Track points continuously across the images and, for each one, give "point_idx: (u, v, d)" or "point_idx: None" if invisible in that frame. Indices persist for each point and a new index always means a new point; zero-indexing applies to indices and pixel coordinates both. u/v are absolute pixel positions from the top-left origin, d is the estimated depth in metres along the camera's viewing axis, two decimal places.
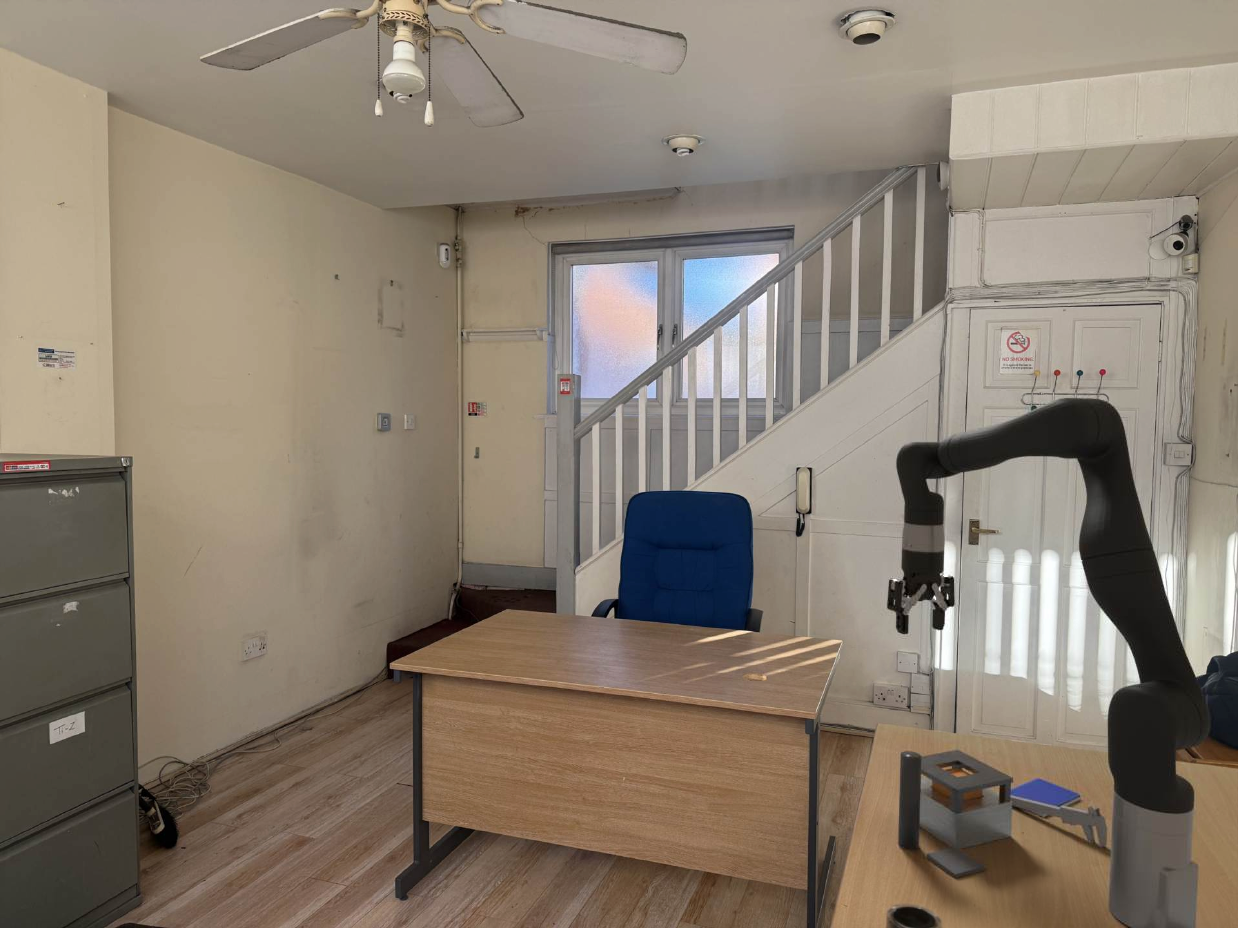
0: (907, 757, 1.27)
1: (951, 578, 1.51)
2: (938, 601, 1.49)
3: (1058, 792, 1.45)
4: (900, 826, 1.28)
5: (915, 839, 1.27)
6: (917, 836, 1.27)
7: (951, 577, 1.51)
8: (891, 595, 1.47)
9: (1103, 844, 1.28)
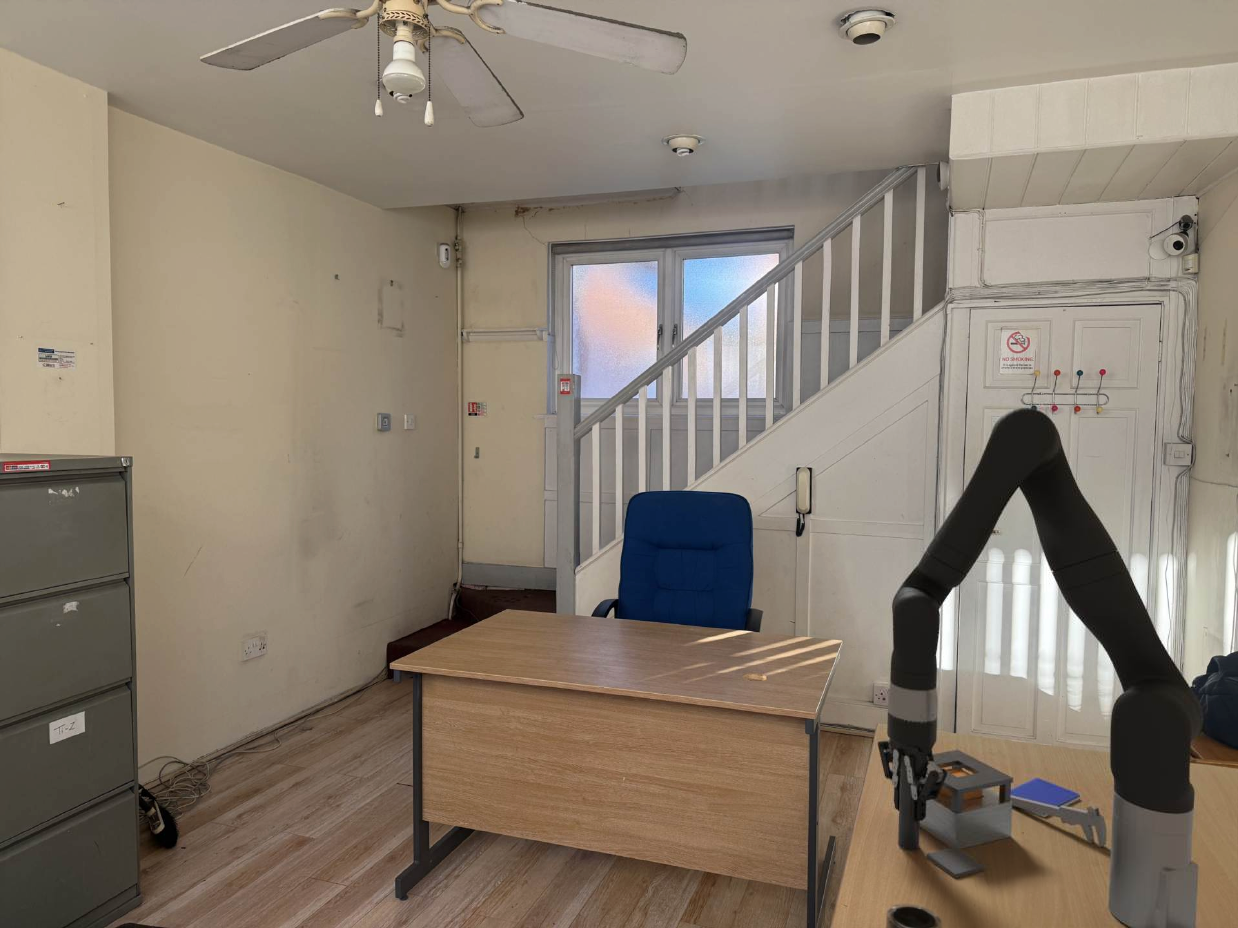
0: None
1: None
2: None
3: (1057, 792, 1.45)
4: (900, 826, 1.28)
5: (915, 839, 1.27)
6: (917, 836, 1.27)
7: None
8: (934, 788, 1.23)
9: (1103, 844, 1.28)
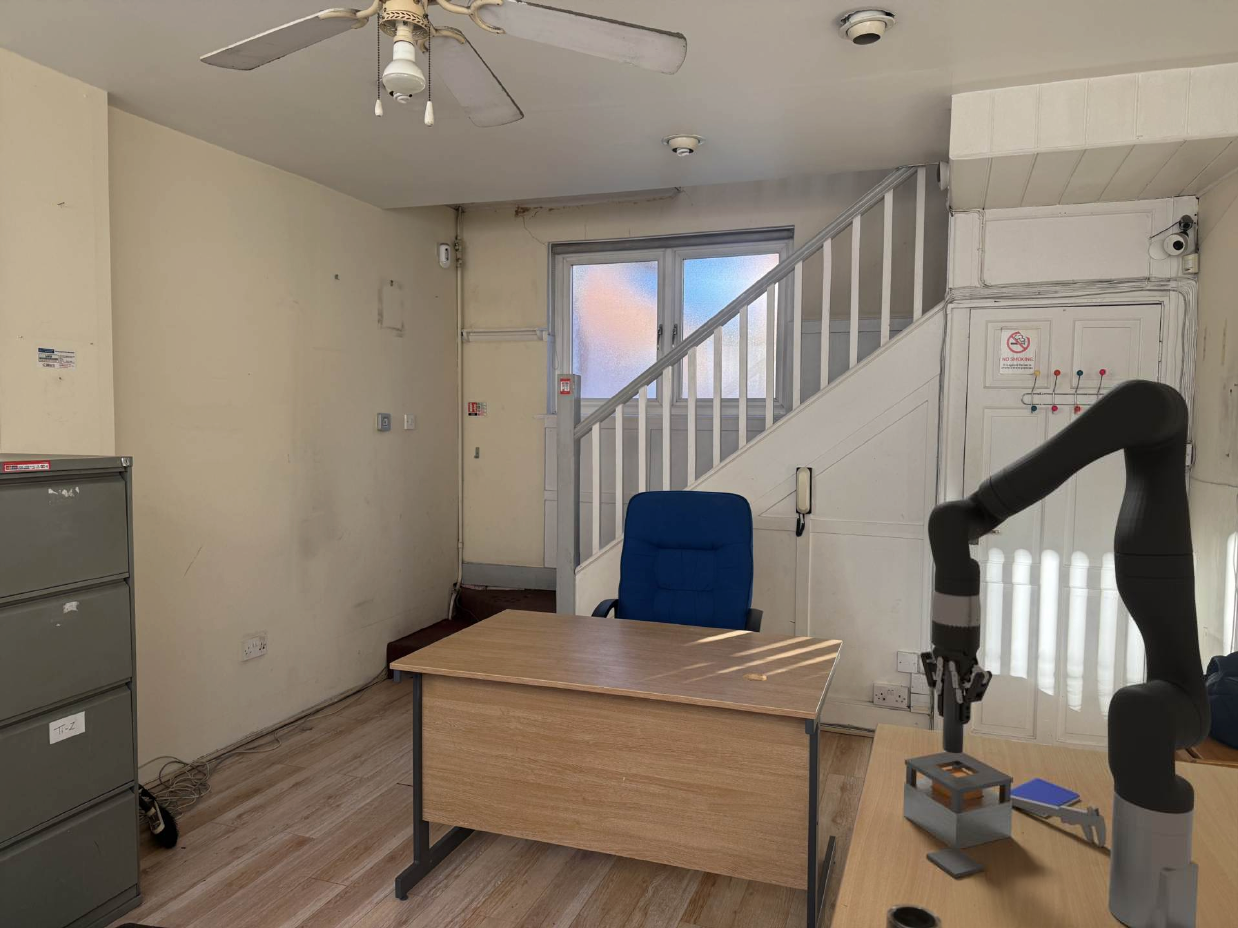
0: None
1: None
2: None
3: (1057, 792, 1.45)
4: (945, 731, 1.32)
5: (959, 742, 1.31)
6: (961, 740, 1.32)
7: None
8: (980, 689, 1.27)
9: (1102, 844, 1.28)
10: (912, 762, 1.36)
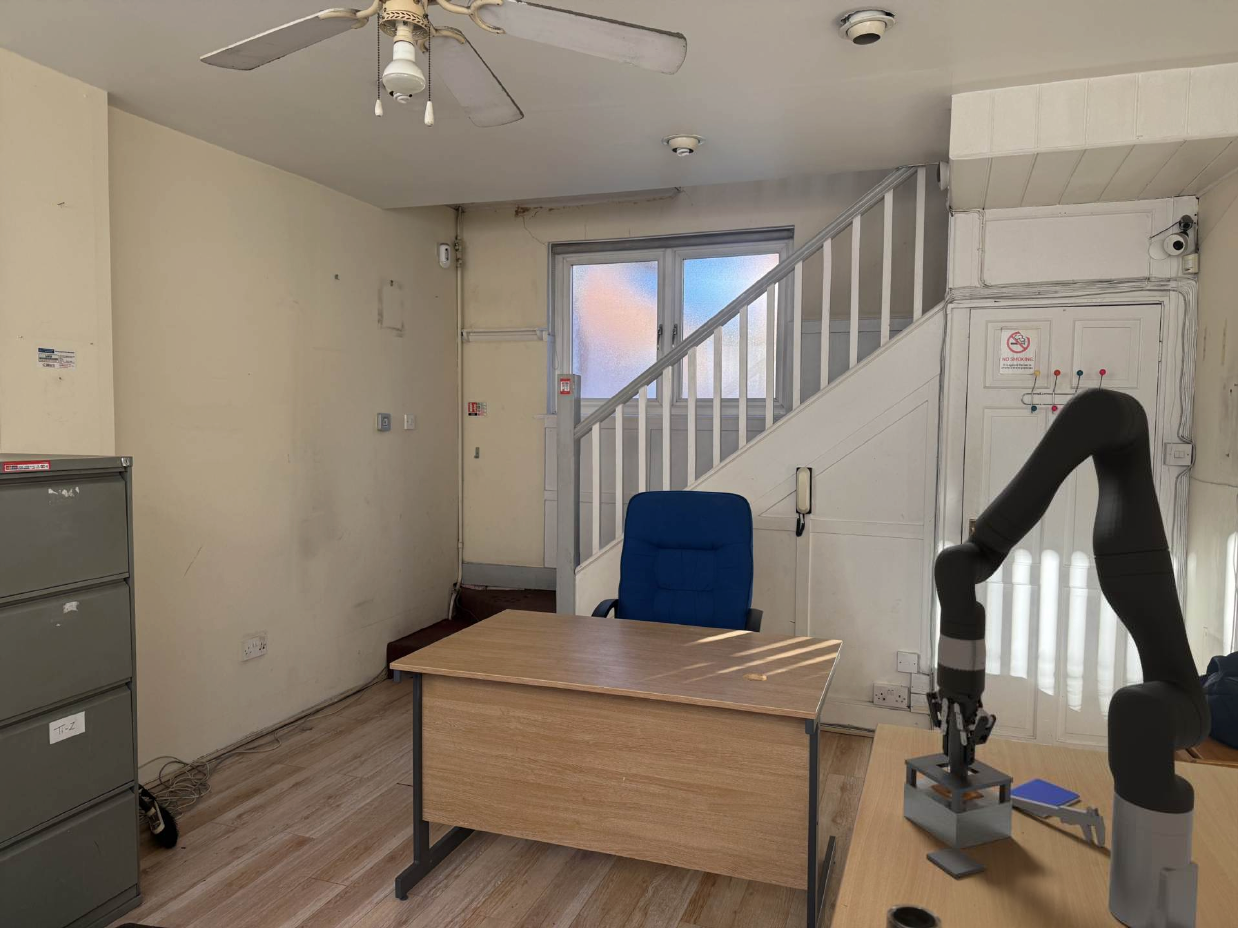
0: None
1: None
2: None
3: (1057, 792, 1.45)
4: (949, 771, 1.34)
5: None
6: None
7: None
8: (984, 733, 1.29)
9: (1102, 844, 1.28)
10: (912, 762, 1.36)
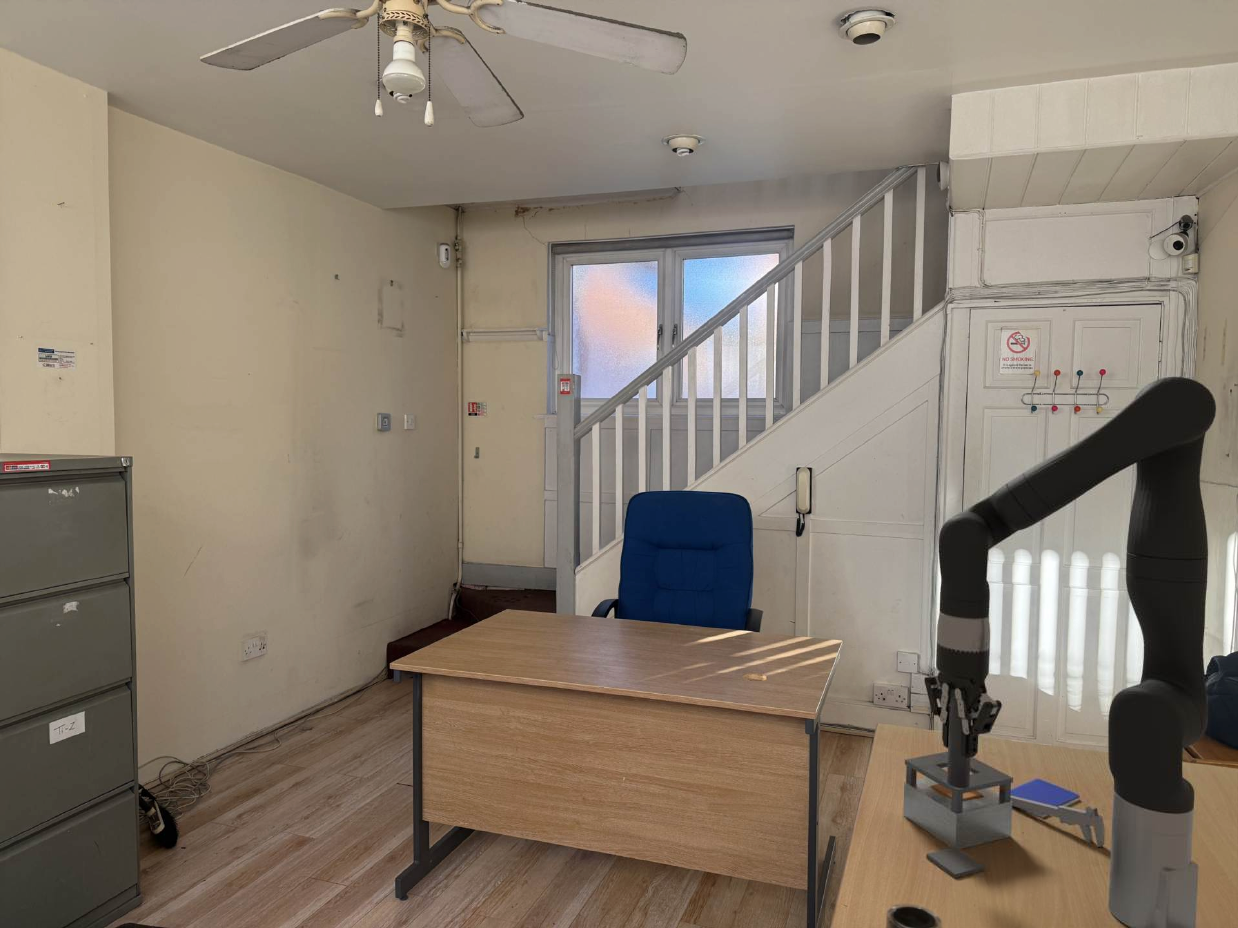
0: None
1: None
2: None
3: (1057, 792, 1.45)
4: (950, 763, 1.22)
5: (966, 776, 1.21)
6: (968, 774, 1.21)
7: None
8: (988, 720, 1.16)
9: (1101, 844, 1.28)
10: (912, 762, 1.36)
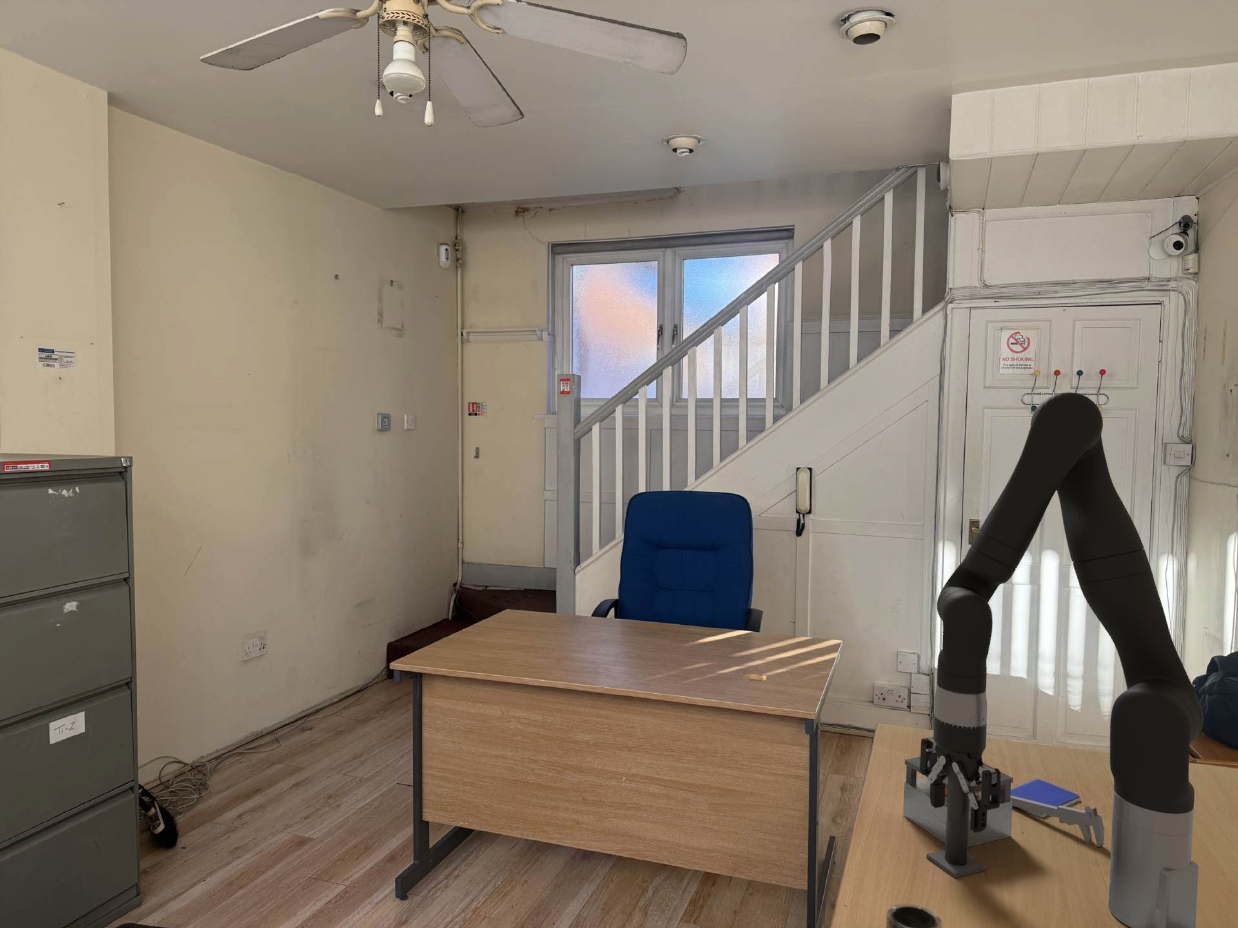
0: None
1: None
2: None
3: (1057, 793, 1.45)
4: (948, 840, 1.22)
5: (963, 854, 1.21)
6: (965, 851, 1.22)
7: None
8: (992, 791, 1.16)
9: (1100, 844, 1.28)
10: (912, 762, 1.36)
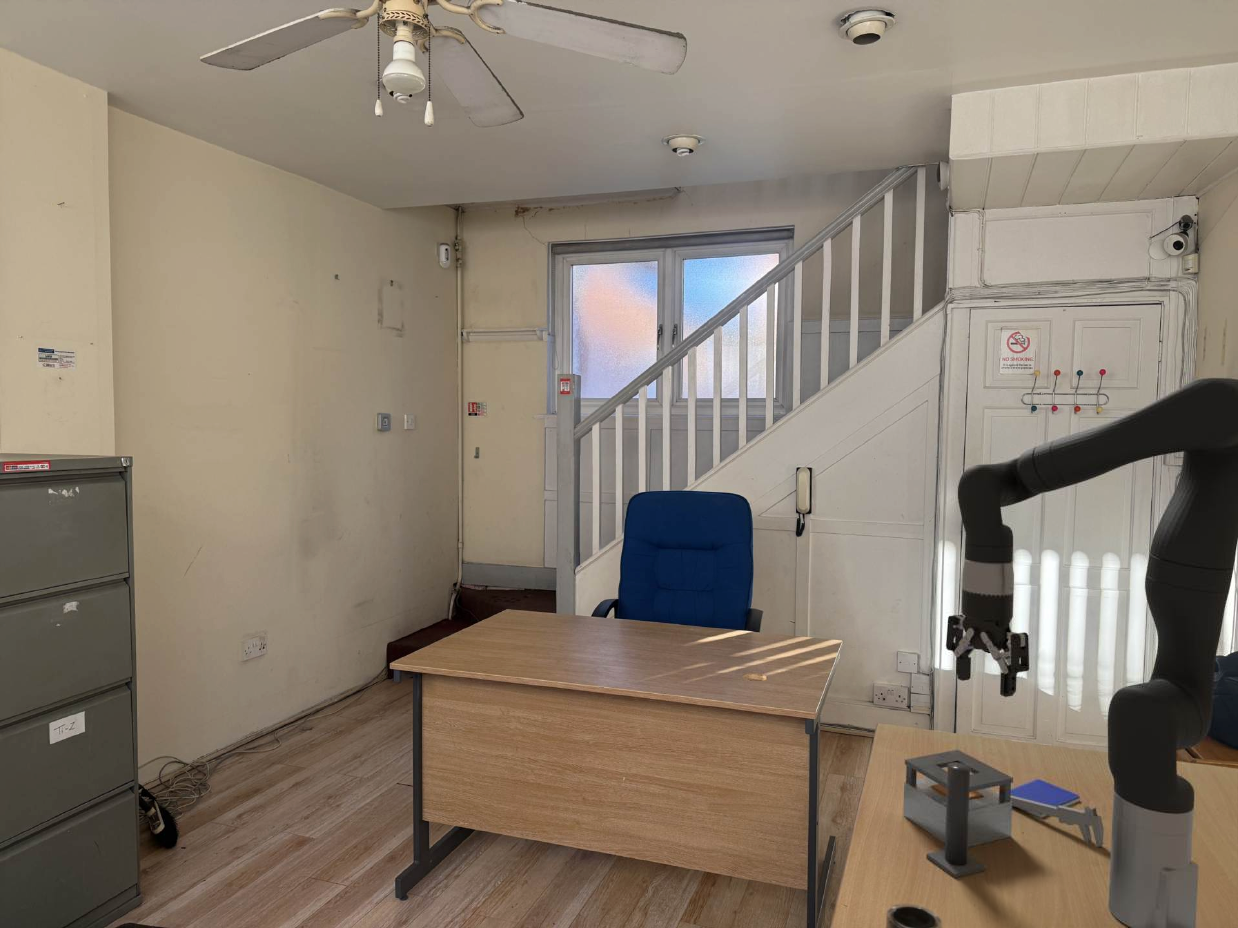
0: (955, 770, 1.21)
1: None
2: None
3: (1057, 793, 1.45)
4: (947, 841, 1.22)
5: (963, 854, 1.21)
6: (965, 851, 1.22)
7: None
8: (1022, 654, 1.20)
9: (1100, 844, 1.28)
10: (912, 762, 1.36)
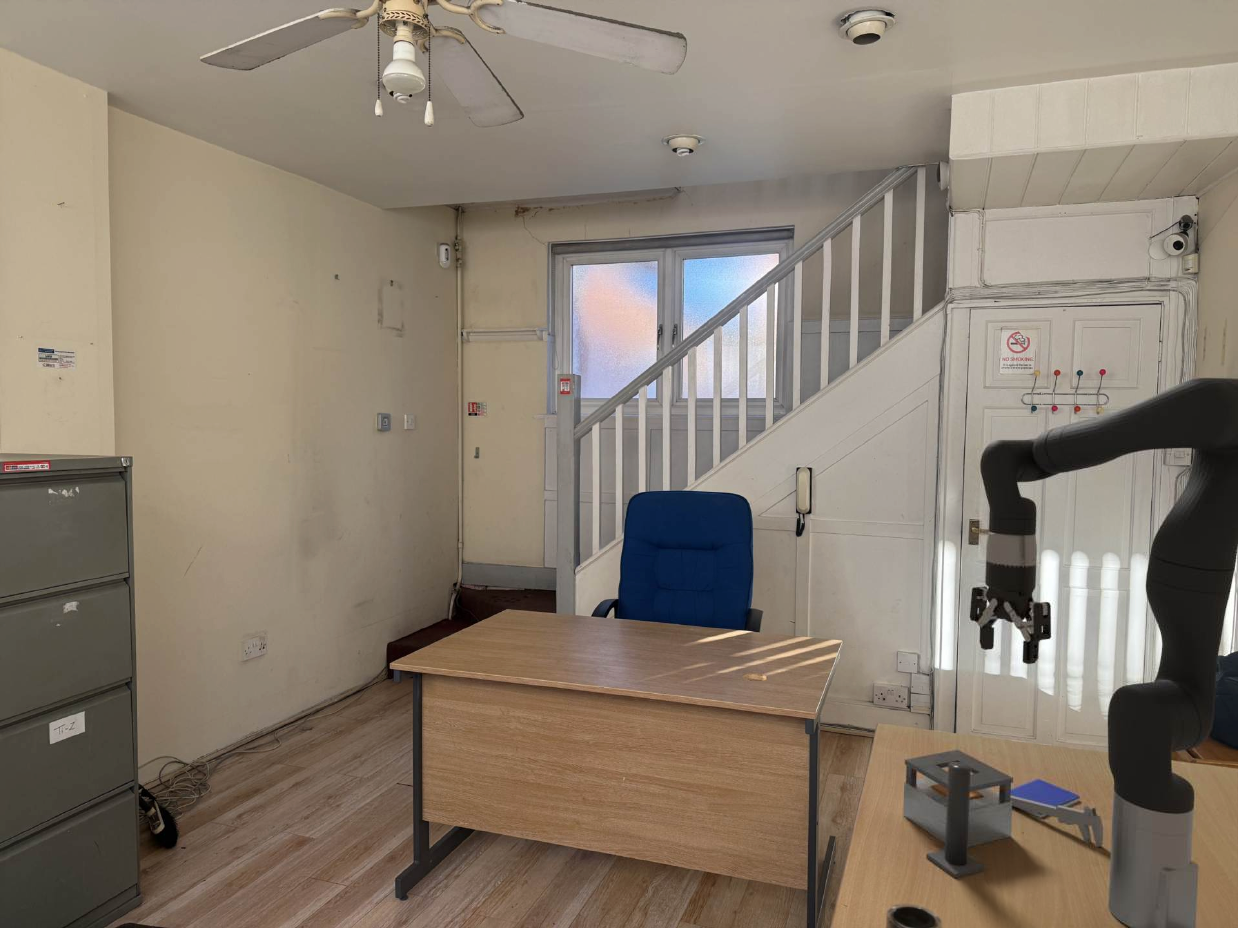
0: (956, 768, 1.21)
1: None
2: None
3: (1057, 793, 1.45)
4: (947, 840, 1.22)
5: (963, 854, 1.21)
6: (965, 851, 1.22)
7: None
8: (1044, 622, 1.25)
9: (1099, 844, 1.28)
10: (912, 762, 1.36)
